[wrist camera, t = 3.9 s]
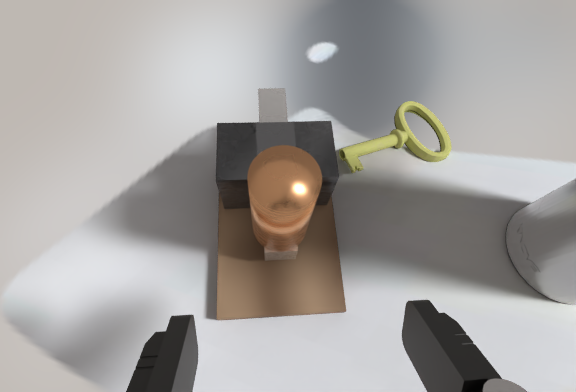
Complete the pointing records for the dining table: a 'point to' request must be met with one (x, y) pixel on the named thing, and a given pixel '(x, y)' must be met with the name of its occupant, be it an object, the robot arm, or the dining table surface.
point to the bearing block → (260, 136)
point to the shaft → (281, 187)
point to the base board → (277, 270)
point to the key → (401, 139)
